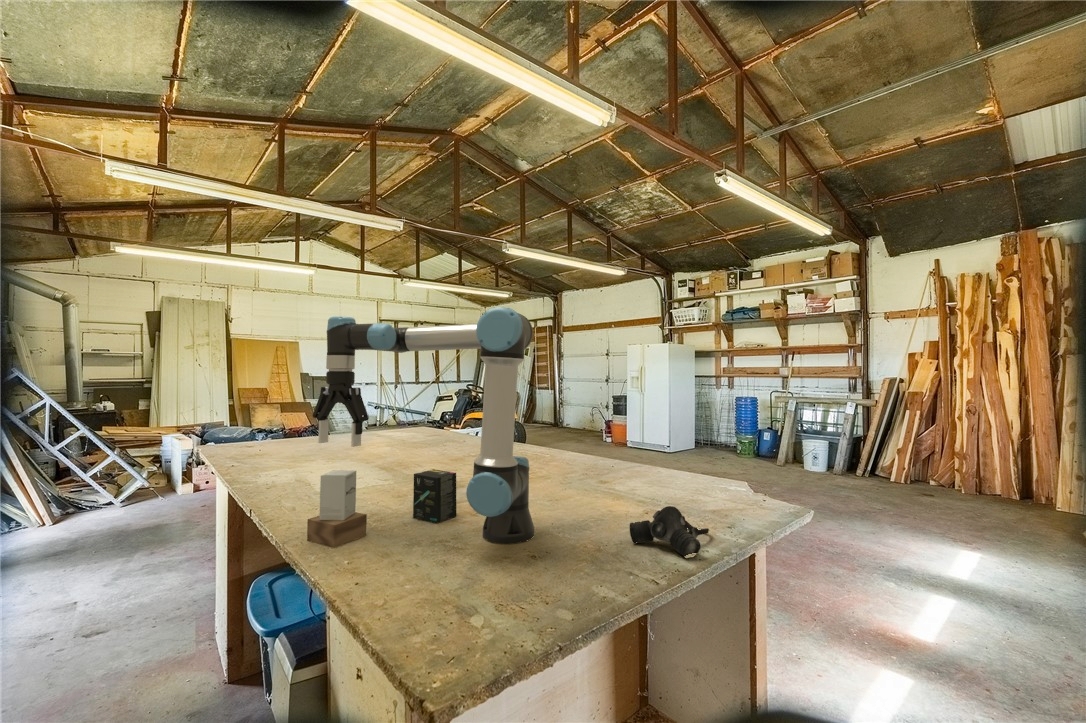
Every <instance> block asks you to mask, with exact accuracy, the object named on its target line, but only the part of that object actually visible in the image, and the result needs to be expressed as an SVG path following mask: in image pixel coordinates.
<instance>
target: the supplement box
mask: <svg viewBox="0 0 1086 723" xmlns="http://www.w3.org/2000/svg"><path fill="white" fill-rule="evenodd" d="M319 486H320V487H319V488H320V490H319V491H320V492H319V516H320V518H319V520H335V521H344V520H345V519H347V518H348V517H349V516H351V515H353V514H354V513H355V512H356V509H357V508H356V506H357V505H356V502H357V470H355V469H354V470H348V469H347V470H346V469H345V470H344V469H343V470H342V469H340V470H336V469H335V470H331V471H329V472H326V473H323V474H320V485H319Z"/></svg>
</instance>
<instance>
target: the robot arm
mask: <svg viewBox="0 0 1086 723" xmlns="http://www.w3.org/2000/svg"><path fill="white" fill-rule="evenodd" d="M533 337H534V329H533V326H532V323H531V322H530V320H529V319H528V318H527V317H526V316H524V315H523V314H521V313H519V312H517V311H515V309H512V308H510V307H504V306H496V307H491V308H489V309H488V310H486V311H485V312H484V313H483V314H481V316H480V318H479V320H477V323H467V324H464V323H463V324H462V323H461V324H445V325H428V326H427V325H426V326H425V325H424V326H407V327H406V326H405V327H403V326H402V327H395V326H393V325H392V324H390V323H385V322H384V323H381V322H375V323H357V322H356V319H355V318H354V317H350V316H331V317H329V318H328V320H327V329H326V348H327V350H326V362H325V363H326V367H325V368H326V370H328V371H326V376H325V380H326V384H327V385H328V386H321V387H320V394H319V397H318V398H317V402H316V406H315V408H314V411H313V413H312V418H314V419H316V420H317V430H318V442H317V443H318V444H324V443H329V418H328V417H329V415H330V414H331V413H332V410H333V409H334V407H335V405H337V404H338V403H339V404H342V405H344V407H345V408H346V410H347V411H348V414H349V415H350V417H351V419H352V422H351V438H350V439H351V441H350V444H351V447H352V448H355V447H360V446H362V434H363V423H364V422H366V421H368V420H369V414H368V412H367V409H366V406H365V403H364V400H363V397H362V391H361V390H362V389H361V387H353V385H354V384H355V381H356V380H355V378H356V377H355V375H356V374H355V371H353V370H355V366H356V365H355V363H356V362H355V361H356V360H355V359H356V351H360V350H361V351H379V352H380V351H381V352H393V353H397V354H398V353H399V354H401V353H408V352H422V351H423V352H424V351H425V352H426V351H449V350H450V351H454V350H456V351H457V350H477V349H478V350H480V358H479V359H481V361H483V363H484V364H485V369H484V370H485V372H484V389H483V407H482V420H481V438H480V454H479V455H478V456H477V457H476V458H475V459H474V461H473V475H472V477H471V478H470V479H469V482H468V483H467V487H466V492H465V494H466V499H467V502H468V504H469V506H470V507H471V508H472V509H473V510H474V512H475V513H477V514H479V515H481V516H483V517H485V520H484V522H483V526H482V538H483V540H486V541H487V542H490V543H494V544H501V545H507V544H508V545H513V544H521V543H525V542H527V540H528V541H530V540H532V539H533V538H534V537H535V526H534V522H533V518H532V516H531V512H530V509H529V508H530V507H529V506H530V505H529V499H530V498H529V497H530V494H529V493H530V487H529V486H530V464H529V459H528V458H527V457H525V456H518V455H514V439H515V420H516V405H517V404H516V401H517V386H518V385H517V384H518V373H519V370H518V369H519V368H518V367H519V366H520V364H522V363H523V362H524V361H525V350H527V348H528V347H529V346H530V344H531V343H532V341H533ZM533 536H534V537H533ZM532 537H533V538H532ZM531 538H532V539H531Z"/></svg>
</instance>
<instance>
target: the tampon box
mask: <svg viewBox="0 0 1086 723" xmlns="http://www.w3.org/2000/svg"><path fill="white" fill-rule="evenodd" d="M412 496H413V497H412V498H413V499H412V500H413V502H412V506H413V507H412V508H413V509H412V519H415V520H420V521H424V522H428V523H432V524H439V523H441V522H445V521H448V520H450V519H453V518H456V517H457V516H458V514H457V472H453V471H447V470H440V469H430V470H429V469H428V470H425V471H422V472H418V473H417V472H416V473H414V474H413V495H412Z"/></svg>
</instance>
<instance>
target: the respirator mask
mask: <svg viewBox="0 0 1086 723" xmlns="http://www.w3.org/2000/svg"><path fill="white" fill-rule="evenodd" d="M652 518H653V520H652V521H650V520H649V519H648V520H647V519H646V520H642V521H635V522H630V523H629V535H630V539H631V540H632V543H633V544H634V543H636V542H638V543H637V544H644V543H652V542H654V539H657V540H659V541H663V542H665V543H669V544H670V546H671V548H673V549H674V550H675V551H676V552H678V554H680V555H681V554H682V555H683V556H686V555H688V554H692V553H699V552H700V549H701V542H700V540H698V539H697V538H698V536H700V535H706V534H709V528H708V527H707V528H700V529H701V530H698V529H697V528H698V527H696V526H693V525H692V524H690V522H689V521H688V520H686V517H685V516H684V515H682V513H681V511H680V510H679V509H678V508H677V507H676V506H670V505H669V506H667V505H666V506H664V507H663V508H661V509H659V510H657V511H655V512H654V513H653V515H652ZM687 528H688V529H689V530H687ZM643 542H644V543H643ZM682 555H681V556H682ZM683 556H682V557H683Z"/></svg>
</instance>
